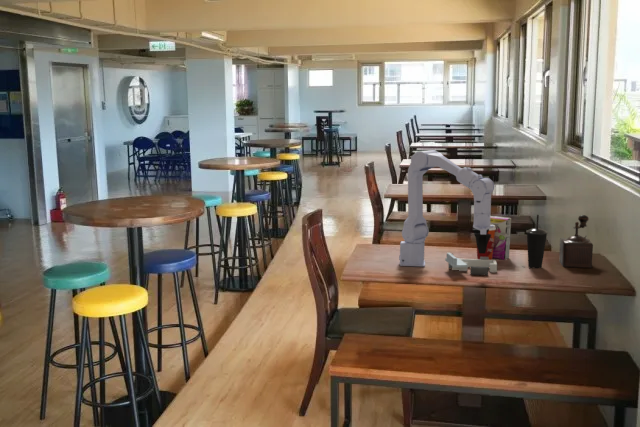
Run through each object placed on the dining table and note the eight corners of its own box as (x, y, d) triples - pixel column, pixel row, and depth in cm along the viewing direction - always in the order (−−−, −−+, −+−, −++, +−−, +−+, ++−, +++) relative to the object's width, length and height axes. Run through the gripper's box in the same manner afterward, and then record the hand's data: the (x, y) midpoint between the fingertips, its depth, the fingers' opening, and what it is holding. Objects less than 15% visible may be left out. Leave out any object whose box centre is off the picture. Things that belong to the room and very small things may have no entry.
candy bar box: (478, 256, 269) (479, 216, 266) (482, 254, 273) (484, 214, 270) (505, 260, 263) (507, 219, 260) (509, 258, 267) (511, 217, 264)
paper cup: (495, 262, 259) (496, 227, 257) (474, 262, 260) (476, 226, 258) (493, 258, 267) (495, 223, 264) (474, 257, 268) (475, 223, 266)
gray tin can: (470, 276, 243) (471, 271, 240) (470, 269, 245) (471, 264, 242) (487, 277, 242) (488, 272, 239) (487, 270, 244) (488, 265, 241)
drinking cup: (523, 268, 251) (526, 215, 247) (525, 263, 258) (527, 212, 254) (545, 270, 248) (548, 217, 245) (545, 265, 255) (548, 213, 252)
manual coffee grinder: (594, 268, 250) (597, 221, 247) (563, 267, 252) (566, 220, 249) (585, 258, 266) (588, 214, 262) (556, 257, 267) (558, 213, 264)
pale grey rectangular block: (448, 270, 248) (449, 255, 247) (448, 265, 256) (448, 251, 255) (496, 272, 245) (497, 257, 244) (494, 266, 253) (495, 252, 252)
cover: (445, 260, 249) (445, 251, 249) (458, 259, 250) (458, 251, 249) (453, 267, 239) (453, 258, 238) (467, 267, 239) (467, 258, 238)
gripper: (495, 216, 226) (494, 255, 228) (492, 209, 240) (491, 246, 243) (474, 216, 227) (473, 255, 230) (472, 209, 242) (471, 246, 244)
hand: (481, 250), depth 236 cm, fingers open, 7 cm apart
